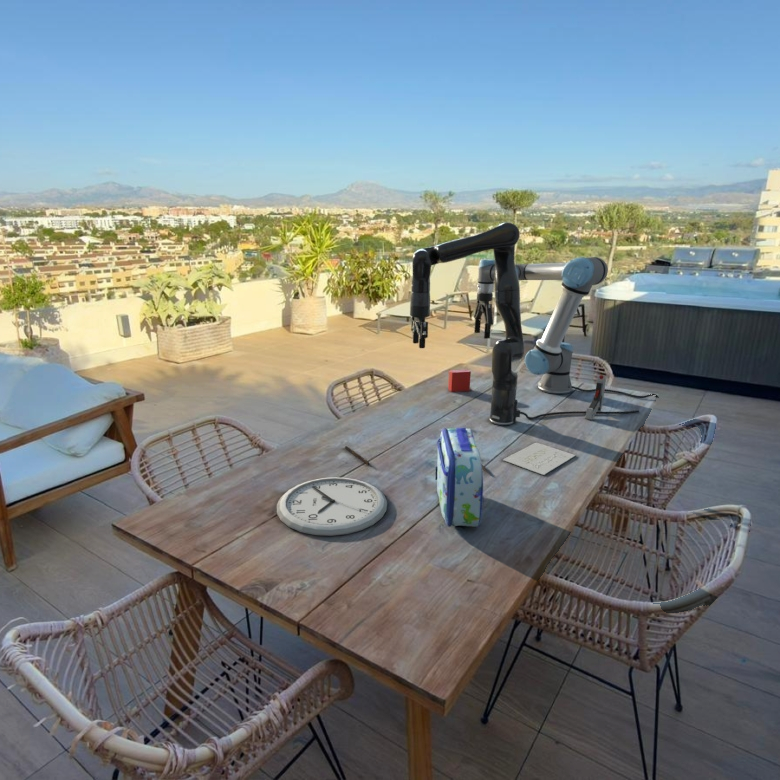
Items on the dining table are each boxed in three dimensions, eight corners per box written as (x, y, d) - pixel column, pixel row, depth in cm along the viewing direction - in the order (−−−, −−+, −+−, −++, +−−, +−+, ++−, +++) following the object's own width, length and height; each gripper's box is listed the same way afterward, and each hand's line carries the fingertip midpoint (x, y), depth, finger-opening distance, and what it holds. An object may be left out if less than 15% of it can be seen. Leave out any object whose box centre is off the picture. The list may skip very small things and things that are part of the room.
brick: (448, 389, 247) (449, 370, 244) (466, 388, 249) (467, 369, 246) (451, 391, 243) (452, 372, 240) (469, 390, 245) (470, 371, 243)
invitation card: (535, 442, 186) (575, 454, 176) (535, 442, 187) (575, 455, 176) (502, 459, 172) (543, 474, 162) (502, 460, 172) (543, 475, 162)
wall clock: (392, 527, 129) (268, 531, 127) (391, 533, 130) (269, 537, 127) (383, 473, 158) (282, 475, 155) (383, 478, 158) (282, 480, 156)
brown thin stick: (344, 448, 179) (344, 445, 179) (346, 448, 179) (346, 445, 179) (367, 464, 167) (367, 462, 167) (368, 464, 167) (368, 461, 167)
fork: (483, 474, 162) (483, 469, 161) (463, 454, 176) (463, 448, 176) (491, 474, 162) (491, 468, 162) (470, 453, 177) (470, 447, 176)
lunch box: (433, 484, 155) (436, 418, 148) (469, 485, 155) (474, 419, 148) (440, 534, 130) (444, 457, 124) (483, 535, 130) (489, 458, 124)
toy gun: (589, 383, 206) (600, 373, 217) (585, 421, 211) (596, 408, 223) (595, 384, 204) (606, 374, 215) (590, 422, 210) (602, 410, 221)
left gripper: (405, 301, 204) (404, 342, 209) (415, 306, 191) (414, 350, 196) (424, 301, 206) (422, 341, 211) (435, 306, 193) (433, 349, 197)
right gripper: (469, 289, 263) (466, 330, 270) (487, 295, 240) (483, 341, 247) (483, 289, 265) (480, 330, 271) (502, 295, 242) (498, 340, 248)
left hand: (418, 345), depth 203 cm, fingers open, 8 cm apart
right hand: (481, 335), depth 259 cm, fingers open, 13 cm apart
